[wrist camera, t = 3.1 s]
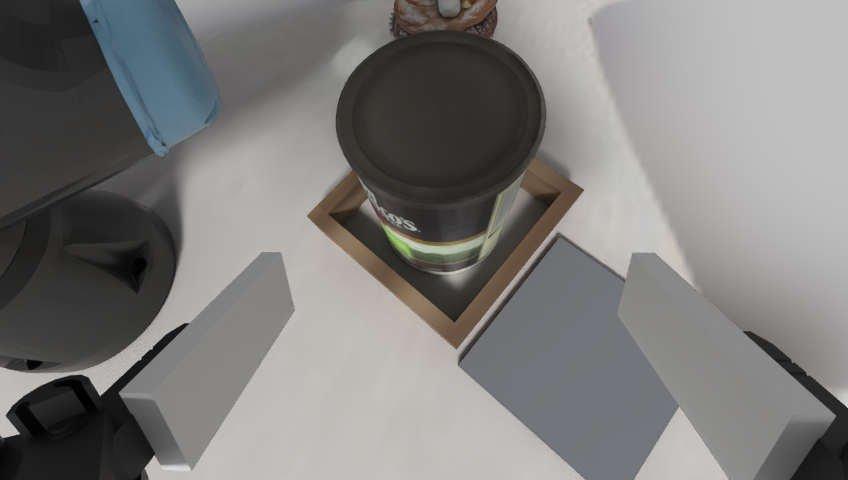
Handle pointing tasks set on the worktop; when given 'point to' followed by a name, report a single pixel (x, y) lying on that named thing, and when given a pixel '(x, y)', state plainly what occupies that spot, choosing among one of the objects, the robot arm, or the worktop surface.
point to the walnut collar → (329, 221)
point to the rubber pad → (574, 368)
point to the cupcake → (443, 16)
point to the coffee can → (441, 142)
